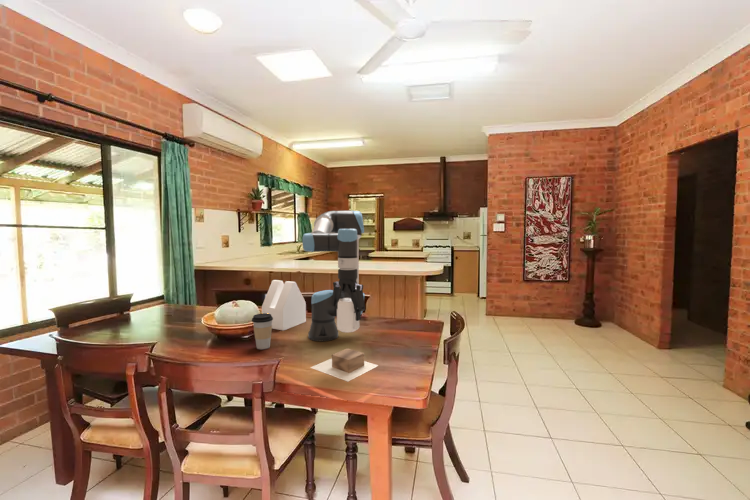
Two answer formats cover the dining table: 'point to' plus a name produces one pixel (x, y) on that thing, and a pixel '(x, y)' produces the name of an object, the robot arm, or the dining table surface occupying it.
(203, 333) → the dining table surface
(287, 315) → the white slotted holder
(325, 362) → the build board
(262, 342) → the coffee cup
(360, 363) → the walnut block
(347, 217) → the robot arm
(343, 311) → the beverage can
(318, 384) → the dining table surface
